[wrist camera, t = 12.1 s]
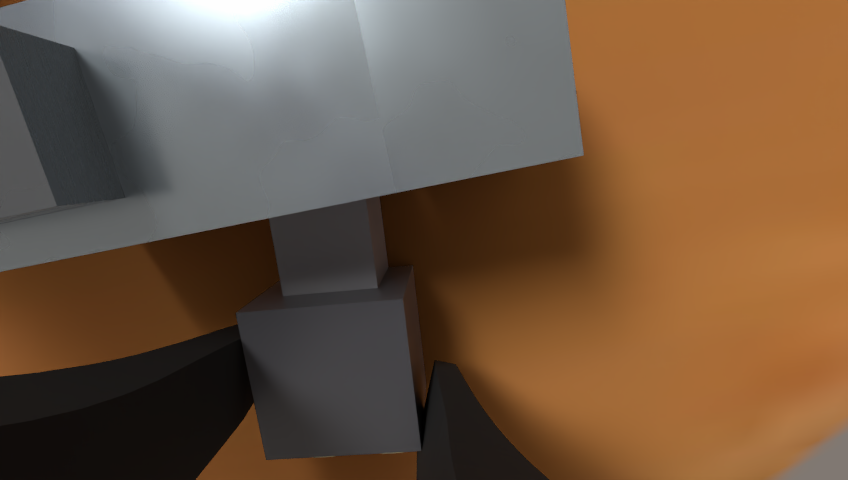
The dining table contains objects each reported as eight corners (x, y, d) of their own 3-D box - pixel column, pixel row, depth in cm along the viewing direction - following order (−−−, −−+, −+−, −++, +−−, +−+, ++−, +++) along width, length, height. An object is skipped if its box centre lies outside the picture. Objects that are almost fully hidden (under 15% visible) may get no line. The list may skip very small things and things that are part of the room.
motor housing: (88, 103, 12) (-332, 36, 5) (498, 5, 10) (576, -222, 4) (133, 235, 12) (-188, 314, 6) (521, 157, 11) (616, 153, 5)
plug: (241, 33, 11) (167, -13, 8) (384, 14, 11) (361, -41, 8) (310, 419, 13) (272, 493, 10) (429, 411, 13) (425, 485, 10)
